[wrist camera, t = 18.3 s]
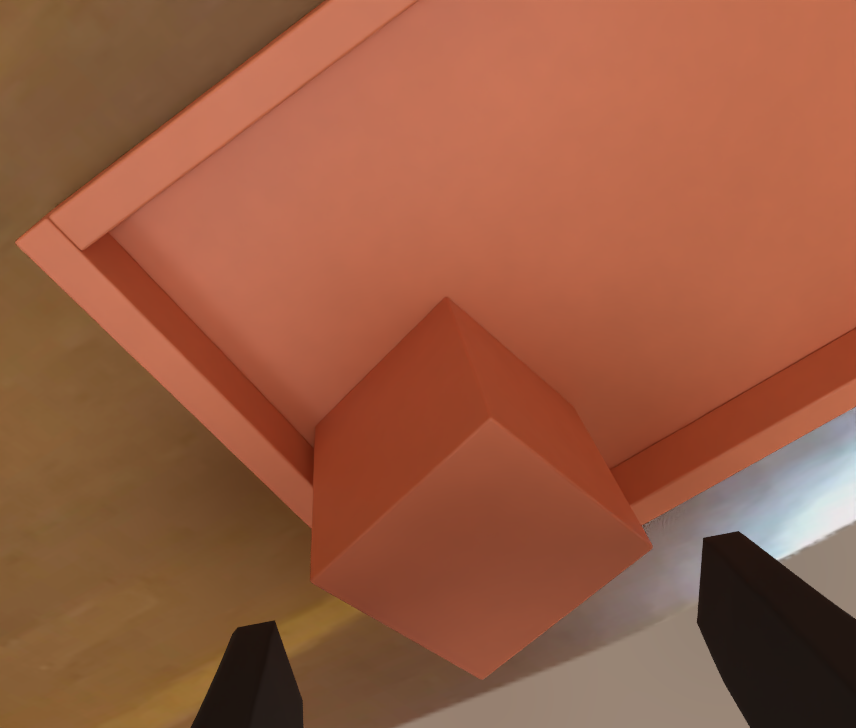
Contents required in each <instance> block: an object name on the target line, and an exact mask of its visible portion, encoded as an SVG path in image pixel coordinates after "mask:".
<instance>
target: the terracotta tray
mask: <svg viewBox="0 0 856 728" xmlns="http://www.w3.org/2000/svg"><path fill="white" fill-rule="evenodd" d="M15 243H16V245H17V246H18V247H19V248H20V249H21V250H22V251H23V252H24V253H26V254H27V255H28V256H29V257H30V258H31V259H32V260H33V261H34V262H35V263H36V264H37V265H38V266H39V267H40V268H41V269H42V270H43V271H44V272H45V273H46V274H47V275H48V276H49V277H50V278H51V279H53V280H54V281H55V282H56V283H57V284H58V285H59V286H60V287H61V288H62V289H63V290H64V291H65V292H66V293H67V294H68V295H69V296H70V297H71V298H72V299H73V300H74V301H75V302H76V303H77V304H78V305H79V306H81V307H82V308H83V309H84V310H85V311H86V312H87V313H88V314H89V315H90V316H91V317H92V318H93V319H94V320H95V321H96V322H97V323H98V324H99V325H100V326H101V327H102V328H103V329H104V330H105V331H106V332H108V333H109V334H110V335H111V336H112V337H113V338H114V339H115V340H116V341H117V342H118V343H119V344H120V345H121V346H122V347H123V348H124V349H125V350H126V351H127V352H128V353H129V354H130V355H131V356H132V357H133V358H135V359H136V360H137V361H138V362H139V363H140V364H141V365H142V366H143V367H144V368H145V369H146V370H147V371H148V372H149V373H150V374H151V375H152V376H153V377H154V378H155V379H156V380H157V381H158V382H159V383H160V384H162V385H163V386H164V387H165V388H166V389H167V390H168V391H169V392H170V393H171V394H172V395H173V396H174V397H175V398H176V399H177V400H178V401H179V402H180V403H181V404H182V405H183V406H184V407H185V408H186V409H187V410H189V411H190V412H191V413H192V414H193V415H194V416H195V417H196V418H197V419H198V420H199V421H200V422H201V423H202V424H203V425H204V426H205V427H206V428H207V429H208V430H209V431H210V432H211V433H212V434H213V435H214V436H216V437H217V438H218V439H219V440H220V441H221V442H222V443H223V444H224V445H225V446H226V447H227V448H228V449H229V450H230V451H231V452H232V453H233V454H234V455H235V456H236V457H237V458H238V459H239V460H240V461H241V462H242V463H244V464H245V465H246V466H247V467H248V468H249V469H250V470H251V471H252V472H253V473H254V474H255V475H256V476H257V477H258V478H259V479H260V480H261V481H262V482H263V483H264V484H265V485H266V486H267V487H268V488H269V489H271V490H272V491H273V492H274V493H275V494H276V495H277V496H278V497H279V498H280V499H281V500H282V501H283V502H284V503H285V504H286V505H287V506H288V507H289V508H290V509H291V510H292V511H293V512H294V513H295V514H296V515H298V516H299V517H300V518H301V519H302V520H303V521H304V522H305V523H306V524H307V525H308V526H309V527H310V528H311V529H312V504H313V472H314V439H315V426H316V425H317V424H318V423H319V422H320V421H321V420H322V419H323V418H324V417H325V416H326V415H327V414H328V413H329V412H330V411H331V410H332V409H333V408H335V407H336V406H337V405H338V404H339V403H340V402H341V401H342V400H343V399H344V398H345V397H346V396H347V395H348V394H349V393H350V392H351V391H352V390H353V389H354V388H355V387H356V386H357V385H358V384H359V383H360V382H361V381H362V380H363V379H364V378H365V377H366V376H367V375H368V374H369V373H370V372H371V371H372V370H373V369H374V368H375V367H376V366H377V365H378V364H379V363H380V362H381V361H382V360H383V359H384V358H385V357H386V356H387V355H388V354H389V353H390V352H391V351H392V350H393V349H394V348H395V347H396V346H397V345H398V344H399V343H400V342H401V341H402V340H403V339H404V338H405V337H406V336H407V335H408V334H409V333H410V332H411V331H412V330H413V329H414V328H415V327H416V326H417V325H418V324H419V323H420V322H421V321H422V320H423V319H424V318H425V317H426V316H427V315H428V314H429V313H430V312H431V311H432V310H433V309H434V308H435V307H436V306H437V305H438V304H439V303H440V302H441V301H442V300H443V299H444V298H445V297H448V298H449V299H451V300H452V301H453V302H454V303H455V304H456V305H457V306H459V307H460V308H461V309H462V310H463V311H464V312H466V313H467V314H468V315H469V316H470V317H471V318H472V319H474V320H475V321H476V322H477V323H478V324H479V325H480V326H482V327H483V328H484V329H485V330H486V331H487V332H489V333H490V334H491V335H492V336H493V337H494V338H495V339H497V340H498V341H499V342H500V343H501V344H502V345H504V346H505V347H506V348H507V349H508V350H509V351H510V352H512V353H513V354H514V355H515V356H516V357H517V358H518V359H520V360H521V361H522V362H523V363H524V364H525V365H527V366H528V367H529V368H530V369H531V370H532V371H533V372H535V373H536V374H537V375H538V376H539V377H540V378H541V379H543V380H544V381H545V382H546V383H547V384H548V385H550V386H551V387H552V388H553V389H554V390H555V391H556V392H558V393H559V394H560V395H561V396H562V397H563V398H564V399H566V400H567V401H568V402H569V403H570V404H571V405H573V406H574V408H575V410H576V412H577V414H578V415H579V417H580V419H581V421H582V422H583V424H584V426H585V428H586V429H587V431H588V433H589V435H590V436H591V438H592V440H593V442H594V443H595V445H596V447H597V449H598V450H599V452H600V454H601V456H602V457H603V459H604V461H605V463H606V464H607V466H608V468H609V470H610V472H611V473H612V475H613V477H614V479H615V480H616V482H617V484H618V486H619V487H620V489H621V491H622V493H623V494H624V496H625V498H626V500H627V501H628V503H629V505H630V507H631V508H632V510H633V512H634V514H635V515H636V517H637V519H638V521H639V523H640V524H641V526H642V525H644V524H646V523H647V522H649V521H651V520H653V519H655V518H656V517H658V516H660V515H662V514H663V513H665V512H667V511H669V510H671V509H672V508H674V507H676V506H678V505H680V504H681V503H683V502H685V501H687V500H689V499H690V498H692V497H694V496H696V495H698V494H699V493H701V492H703V491H705V490H707V489H708V488H710V487H712V486H714V485H716V484H717V483H719V482H721V481H723V480H725V479H726V478H728V477H730V476H732V475H734V474H735V473H737V472H739V471H741V470H743V469H744V468H746V467H748V466H750V465H752V464H753V463H755V462H757V461H759V460H761V459H762V458H764V457H766V456H768V455H770V454H771V453H773V452H775V451H777V450H779V449H780V448H782V447H784V446H786V445H788V444H789V443H791V442H793V441H795V440H796V439H798V438H800V437H802V436H804V435H805V434H807V433H809V432H811V431H813V430H814V429H816V428H818V427H820V426H822V425H823V424H825V423H827V422H829V421H831V420H832V419H834V418H836V417H838V416H840V415H841V414H843V413H845V412H847V411H849V410H850V409H852V408H854V407H856V0H325V1H323V2H322V3H321V4H320V5H318V6H317V7H316V8H314V9H313V10H312V11H310V12H309V13H308V14H306V15H305V16H304V17H303V18H301V19H300V20H299V21H297V22H296V23H295V24H293V25H292V26H291V27H290V28H288V29H287V30H286V31H284V32H283V33H282V34H280V35H279V36H278V37H277V38H275V39H274V40H273V41H271V42H270V43H269V44H267V45H266V46H265V47H264V48H262V49H261V50H260V51H258V52H257V53H256V54H254V55H253V56H252V57H251V58H249V59H248V60H247V61H245V62H244V63H243V64H241V65H240V66H239V67H237V68H236V69H235V70H234V71H232V72H231V73H230V74H228V75H227V76H226V77H224V78H223V79H222V80H221V81H219V82H218V83H217V84H215V85H214V86H213V87H211V88H210V89H209V90H208V91H206V92H205V93H204V94H202V95H201V96H200V97H198V98H197V99H196V100H195V101H193V102H192V103H191V104H189V105H188V106H187V107H185V108H184V109H183V110H182V111H180V112H179V113H178V114H176V115H175V116H174V117H172V118H171V119H170V120H168V121H167V122H166V123H165V124H163V125H162V126H161V127H159V128H158V129H157V130H155V131H154V132H153V133H152V134H150V135H149V136H148V137H146V138H145V139H144V140H142V141H141V142H140V143H139V144H137V145H136V146H135V147H133V148H132V149H131V150H129V151H128V152H127V153H126V154H124V155H123V156H122V157H120V158H119V159H118V160H116V161H115V162H114V163H112V164H111V165H110V166H109V167H107V168H106V169H105V170H103V171H102V172H101V173H99V174H98V175H97V176H96V177H94V178H93V179H92V180H90V181H89V182H88V183H86V184H85V185H84V186H83V187H81V188H80V189H79V190H77V191H76V192H75V193H73V194H72V195H71V196H70V197H68V198H67V199H66V200H64V201H63V202H62V203H60V204H59V205H58V206H57V207H55V208H54V209H53V210H51V211H50V212H49V213H48V214H47V215H46V216H44V217H43V218H42V219H41V220H40V221H38V222H37V223H36V224H35V225H34V226H32V227H31V228H30V229H29V230H28V231H27V232H25V233H24V234H23V235H22V236H21V237H19V238H18V239H17V240H16V242H15Z"/></svg>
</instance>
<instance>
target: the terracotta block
mask: <svg viewBox="0 0 856 728" xmlns="http://www.w3.org/2000/svg"><path fill="white" fill-rule="evenodd" d="M652 548H653V546H652V544H651V542H650V540H649V538H648V537H647V535H646V533H645V531H644V530H643V528H642V526H641V524H640V523H639V521H638V519H637V517H636V515H635V514H634V512H633V510H632V508H631V507H630V505H629V503H628V501H627V500H626V498H625V496H624V494H623V493H622V491H621V489H620V487H619V486H618V484H617V482H616V480H615V479H614V477H613V475H612V473H611V472H610V470H609V468H608V466H607V464H606V463H605V461H604V459H603V457H602V456H601V454H600V452H599V450H598V449H597V447H596V445H595V443H594V442H593V440H592V438H591V436H590V435H589V433H588V431H587V429H586V428H585V426H584V424H583V422H582V421H581V419H580V417H579V415H578V414H577V412H576V410H575V408H574V406H573V405H571V404H570V403H569V402H568V401H567V400H566V399H564V398H563V397H562V396H561V395H560V394H559V393H558V392H556V391H555V390H554V389H553V388H552V387H551V386H550V385H548V384H547V383H546V382H545V381H544V380H543V379H541V378H540V377H539V376H538V375H537V374H536V373H535V372H533V371H532V370H531V369H530V368H529V367H528V366H527V365H525V364H524V363H523V362H522V361H521V360H520V359H518V358H517V357H516V356H515V355H514V354H513V353H512V352H510V351H509V350H508V349H507V348H506V347H505V346H504V345H502V344H501V343H500V342H499V341H498V340H497V339H495V338H494V337H493V336H492V335H491V334H490V333H489V332H487V331H486V330H485V329H484V328H483V327H482V326H480V325H479V324H478V323H477V322H476V321H475V320H474V319H472V318H471V317H470V316H469V315H468V314H467V313H466V312H464V311H463V310H462V309H461V308H460V307H459V306H457V305H456V304H455V303H454V302H453V301H452V300H451V299H449V298H448V297H445V298H444V299H443V300H442V301H441V302H440V303H439V304H438V305H437V306H436V307H435V308H434V309H433V310H432V311H431V312H430V313H429V314H428V315H427V316H426V317H425V318H424V319H423V320H422V321H421V322H420V323H419V324H418V325H417V326H416V327H415V328H414V329H413V330H412V331H411V332H410V333H409V334H408V335H407V336H406V337H405V338H404V339H403V340H402V341H401V342H400V343H399V344H398V345H397V346H396V347H395V348H394V349H393V350H392V351H391V352H390V353H389V354H388V355H387V356H386V357H385V358H384V359H383V360H382V361H381V362H380V363H379V364H378V365H377V366H376V367H375V368H374V369H373V370H372V371H371V372H370V373H369V374H368V375H367V376H366V377H365V378H364V379H363V380H362V381H361V382H360V383H359V384H358V385H357V386H356V387H355V388H354V389H353V390H352V391H351V392H350V393H349V394H348V395H347V396H346V397H345V398H344V399H343V400H342V401H341V402H340V403H339V404H338V405H337V406H336V407H335V408H333V409H332V410H331V411H330V412H329V413H328V414H327V415H326V416H325V417H324V418H323V419H322V420H321V421H320V422H319V423H318V424H317V425H316V426H315V439H314V472H313V504H312V537H311V569H310V581H311V583H312V584H314V585H316V586H318V587H319V588H321V589H323V590H325V591H326V592H328V593H330V594H332V595H333V596H335V597H337V598H339V599H340V600H342V601H344V602H346V603H347V604H349V605H351V606H353V607H355V608H356V609H358V610H360V611H362V612H363V613H365V614H367V615H369V616H370V617H372V618H374V619H376V620H377V621H379V622H381V623H383V624H384V625H386V626H388V627H390V628H391V629H393V630H395V631H397V632H398V633H400V634H402V635H404V636H405V637H407V638H409V639H411V640H412V641H414V642H416V643H418V644H419V645H421V646H423V647H425V648H426V649H428V650H430V651H432V652H433V653H435V654H437V655H439V656H440V657H442V658H444V659H446V660H447V661H449V662H451V663H453V664H454V665H456V666H458V667H460V668H461V669H463V670H465V671H467V672H468V673H470V674H472V675H474V676H475V677H477V678H479V679H481V680H483V679H484V678H486V677H487V676H488V675H490V674H491V673H492V672H493V671H495V670H496V669H497V668H499V667H500V666H501V665H503V664H504V663H505V662H506V661H508V660H509V659H510V658H512V657H513V656H514V655H515V654H517V653H518V652H519V651H521V650H522V649H523V648H525V647H526V646H527V645H528V644H530V643H531V642H532V641H534V640H535V639H536V638H537V637H539V636H540V635H541V634H543V633H544V632H545V631H546V630H548V629H549V628H550V627H552V626H553V625H554V624H556V623H557V622H558V621H559V620H561V619H562V618H563V617H565V616H566V615H567V614H568V613H570V612H571V611H572V610H574V609H575V608H576V607H578V606H579V605H580V604H581V603H583V602H584V601H585V600H587V599H588V598H589V597H590V596H592V595H593V594H594V593H596V592H597V591H598V590H599V589H601V588H602V587H603V586H605V585H606V584H607V583H609V582H610V581H611V580H612V579H614V578H615V577H616V576H618V575H619V574H620V573H621V572H623V571H624V570H625V569H627V568H628V567H629V566H631V565H632V564H633V563H634V562H636V561H637V560H638V559H640V558H641V557H642V556H643V555H645V554H646V553H647V552H649V551H650V550H651V549H652Z"/></svg>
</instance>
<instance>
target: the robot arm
mask: <svg viewBox="0 0 856 728" xmlns="http://www.w3.org/2000/svg"><path fill="white" fill-rule="evenodd" d="M697 624H698V626H699V628H700V630H701V633H702V635H703V637H704V640H705V642H706V644H707V646H708V649H709V651H710V653H711V656H712V658H713V660H714V662H715V664H716V667H717V669H718V671H719V673H720V675H721V677H722V679H723V681H724V683H725V685H726V687H727V688H728V690H729V692H730V694H731V696H732V697H733V699H734V701H735V702H736V704H737V706H738V708H739V709H740V711H741V712H742V714H743V716H744V718H745V719H746V721H747V723H748V725H749V726H750V728H856V619H855V618H853V617H852V616H851V615H849V614H848V613H846V612H845V611H843V610H842V609H841V608H839V607H838V606H837V605H835V604H834V603H832V602H831V601H830V600H828V599H827V598H826V597H824V596H823V595H821V594H820V593H819V592H818V591H816V590H815V589H814V588H812V587H811V586H810V585H808V584H807V583H806V582H804V581H803V580H802V579H801V578H799V577H798V576H797V575H795V574H794V573H793V572H791V571H790V570H789V569H787V568H786V567H785V566H784V565H782V564H781V563H780V562H778V561H777V560H776V559H775V558H773V557H772V556H771V555H769V554H768V553H767V552H765V551H764V550H763V549H762V548H760V547H759V546H758V545H756V544H755V543H754V542H752V541H751V540H750V539H748V538H747V537H746V536H744V535H743V534H742V533H740V532H739V531H737V532H732V533H727V534H721V535H716V536H711V537H706V538H703V549H702V562H701V576H700V589H699V603H698V618H697ZM191 728H303V700H302V697H301V695H300V692H299V689H298V686H297V683H296V680H295V677H294V675H293V672H292V669H291V666H290V663H289V660H288V657H287V654H286V652H285V649H284V646H283V643H282V640H281V637H280V634H279V631H278V629H277V626H276V623H275V620H274V621H269V622H264V623H259V624H254V625H248V626H243V627H238V628H237V629H236V630H235V631H234V633H233V634H232V636H231V639H230V641H229V644H228V646H227V649H226V651H225V653H224V656H223V658H222V660H221V663H220V665H219V667H218V670H217V672H216V674H215V677H214V679H213V681H212V683H211V686H210V688H209V690H208V692H207V694H206V696H205V699H204V701H203V703H202V705H201V707H200V709H199V712H198V714H197V716H196V718H195V720H194V722H193V724H192V726H191Z"/></svg>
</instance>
